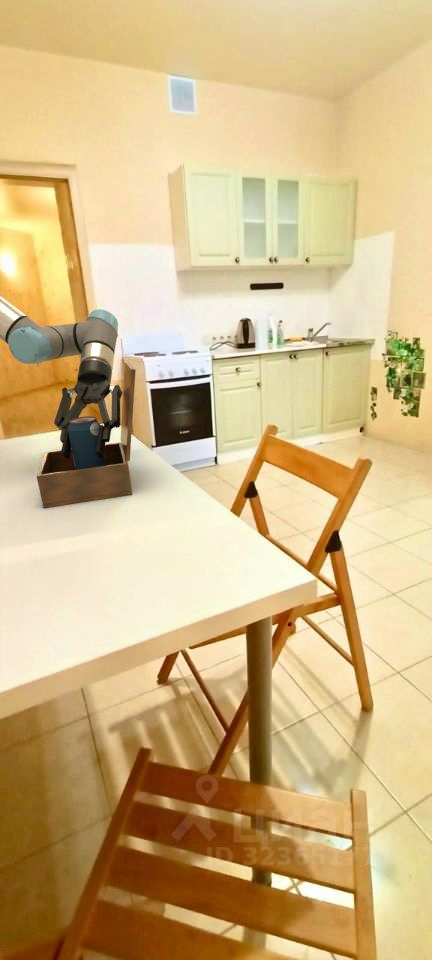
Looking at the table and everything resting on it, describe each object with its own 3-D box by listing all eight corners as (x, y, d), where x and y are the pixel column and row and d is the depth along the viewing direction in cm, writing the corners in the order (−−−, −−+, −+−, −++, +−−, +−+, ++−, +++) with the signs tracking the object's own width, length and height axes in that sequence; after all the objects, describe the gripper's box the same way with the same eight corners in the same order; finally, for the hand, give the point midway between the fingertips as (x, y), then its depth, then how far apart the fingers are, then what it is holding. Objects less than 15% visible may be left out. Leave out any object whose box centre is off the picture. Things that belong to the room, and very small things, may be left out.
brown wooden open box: (43, 508, 89) (36, 476, 87) (50, 479, 105) (44, 451, 103) (132, 494, 93) (128, 463, 90) (126, 468, 109) (122, 442, 106)
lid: (131, 369, 85) (135, 369, 85) (124, 361, 101) (128, 361, 101) (125, 461, 90) (129, 461, 90) (120, 440, 106) (123, 440, 106)
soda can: (113, 469, 101) (105, 417, 97) (87, 478, 96) (77, 424, 92) (96, 464, 105) (87, 414, 101) (70, 473, 101) (60, 420, 96)
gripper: (141, 375, 107) (132, 461, 98) (62, 380, 110) (46, 464, 100) (132, 355, 101) (122, 445, 91) (48, 360, 103) (29, 448, 93)
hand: (82, 455), depth 96 cm, fingers closed on soda can, 7 cm apart
